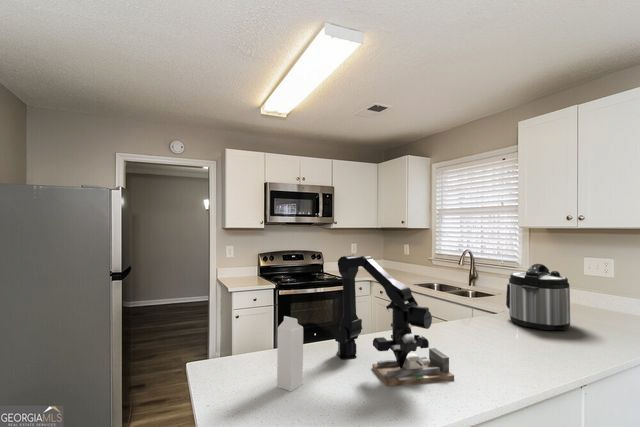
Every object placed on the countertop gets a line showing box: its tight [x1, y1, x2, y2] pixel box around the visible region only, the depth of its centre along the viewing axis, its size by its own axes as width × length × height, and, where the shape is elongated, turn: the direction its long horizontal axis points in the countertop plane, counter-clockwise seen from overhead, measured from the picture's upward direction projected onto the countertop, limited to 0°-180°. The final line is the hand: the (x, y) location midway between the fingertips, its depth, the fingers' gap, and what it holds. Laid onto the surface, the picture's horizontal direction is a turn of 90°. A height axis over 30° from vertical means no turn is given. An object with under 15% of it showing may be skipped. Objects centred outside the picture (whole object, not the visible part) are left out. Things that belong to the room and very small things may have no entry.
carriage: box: [403, 352, 430, 370], centre depth 117 cm, size 9×10×4 cm
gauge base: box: [371, 347, 455, 387], centre depth 118 cm, size 24×14×6 cm, turn 102°
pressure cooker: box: [505, 263, 571, 331], centre depth 178 cm, size 30×28×32 cm
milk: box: [276, 315, 304, 393], centre depth 109 cm, size 6×6×22 cm
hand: (400, 367), depth 117 cm, fingers closed
